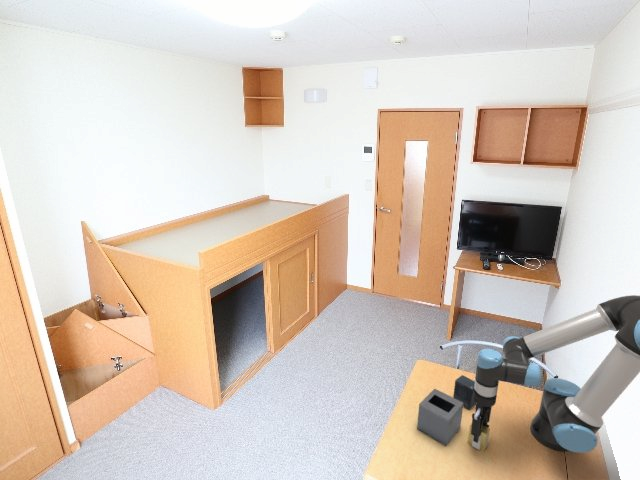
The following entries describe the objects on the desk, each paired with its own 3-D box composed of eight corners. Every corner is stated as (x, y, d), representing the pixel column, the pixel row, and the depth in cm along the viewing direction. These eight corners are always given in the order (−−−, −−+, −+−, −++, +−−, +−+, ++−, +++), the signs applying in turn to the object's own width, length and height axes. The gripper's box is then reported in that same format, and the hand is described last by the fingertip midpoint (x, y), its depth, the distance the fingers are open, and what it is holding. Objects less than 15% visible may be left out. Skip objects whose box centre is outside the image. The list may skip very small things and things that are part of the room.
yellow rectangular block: (487, 446, 142) (490, 428, 140) (483, 451, 140) (486, 434, 137) (471, 437, 146) (473, 420, 144) (467, 442, 144) (469, 425, 141)
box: (476, 404, 163) (479, 383, 160) (469, 410, 159) (472, 389, 156) (459, 394, 169) (462, 374, 165) (452, 400, 165) (455, 379, 162)
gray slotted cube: (460, 428, 150) (463, 403, 147) (445, 446, 142) (449, 420, 139) (432, 412, 158) (434, 388, 155) (416, 429, 150) (419, 403, 146)
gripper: (483, 375, 144) (477, 426, 151) (464, 397, 133) (458, 451, 140) (504, 384, 139) (496, 436, 146) (486, 408, 128) (479, 463, 135)
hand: (478, 443), depth 143 cm, fingers open, 3 cm apart
